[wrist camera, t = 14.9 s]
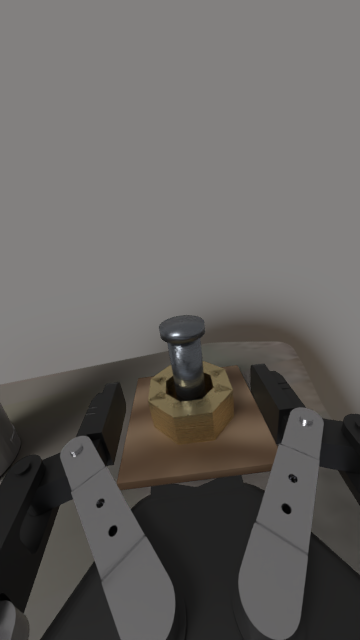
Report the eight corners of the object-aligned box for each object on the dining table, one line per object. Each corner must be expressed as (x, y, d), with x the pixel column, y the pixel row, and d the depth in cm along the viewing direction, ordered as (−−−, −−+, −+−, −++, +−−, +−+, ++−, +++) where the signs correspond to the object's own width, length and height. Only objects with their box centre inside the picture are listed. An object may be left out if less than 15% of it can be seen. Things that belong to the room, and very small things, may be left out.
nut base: (284, 469, 21) (287, 431, 19) (119, 490, 22) (105, 454, 20) (237, 370, 36) (236, 343, 34) (139, 383, 36) (133, 357, 34)
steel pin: (193, 432, 25) (179, 339, 21) (166, 411, 29) (150, 327, 24) (220, 408, 28) (213, 321, 23) (193, 391, 31) (182, 312, 27)
